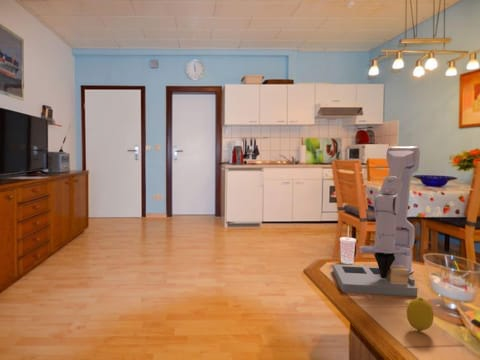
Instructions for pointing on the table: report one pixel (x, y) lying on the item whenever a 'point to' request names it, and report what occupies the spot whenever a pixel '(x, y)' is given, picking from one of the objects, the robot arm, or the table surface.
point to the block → (398, 274)
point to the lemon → (420, 314)
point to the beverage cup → (347, 249)
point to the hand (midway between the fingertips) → (383, 277)
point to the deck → (370, 281)
